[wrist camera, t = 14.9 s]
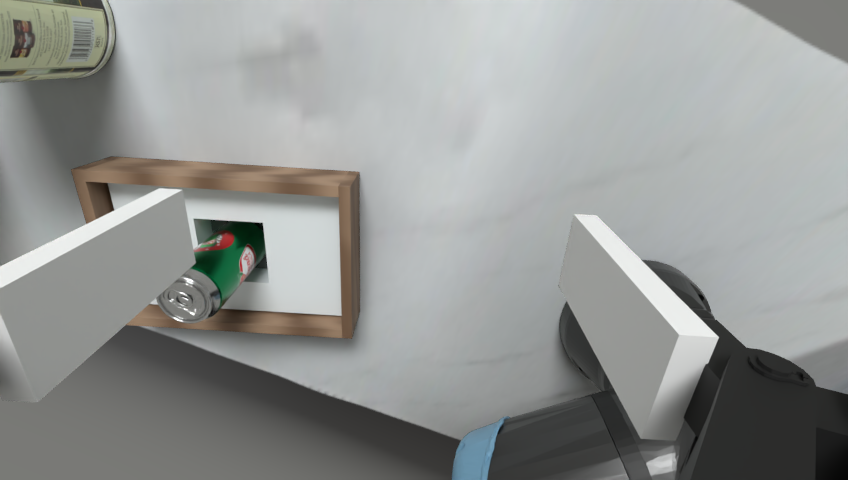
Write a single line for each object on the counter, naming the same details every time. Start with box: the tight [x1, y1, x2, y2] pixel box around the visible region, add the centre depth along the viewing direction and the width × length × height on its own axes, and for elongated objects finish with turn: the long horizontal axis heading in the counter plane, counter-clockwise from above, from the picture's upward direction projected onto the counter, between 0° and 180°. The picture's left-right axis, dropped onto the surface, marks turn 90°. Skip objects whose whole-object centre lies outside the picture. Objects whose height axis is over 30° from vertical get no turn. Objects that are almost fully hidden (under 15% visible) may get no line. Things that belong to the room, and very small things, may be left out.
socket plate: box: [108, 183, 342, 316], centre depth 43 cm, size 21×13×3 cm, turn 87°
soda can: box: [156, 221, 266, 324], centre depth 39 cm, size 5×5×12 cm
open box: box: [71, 157, 360, 339], centre depth 42 cm, size 24×16×5 cm, turn 87°
